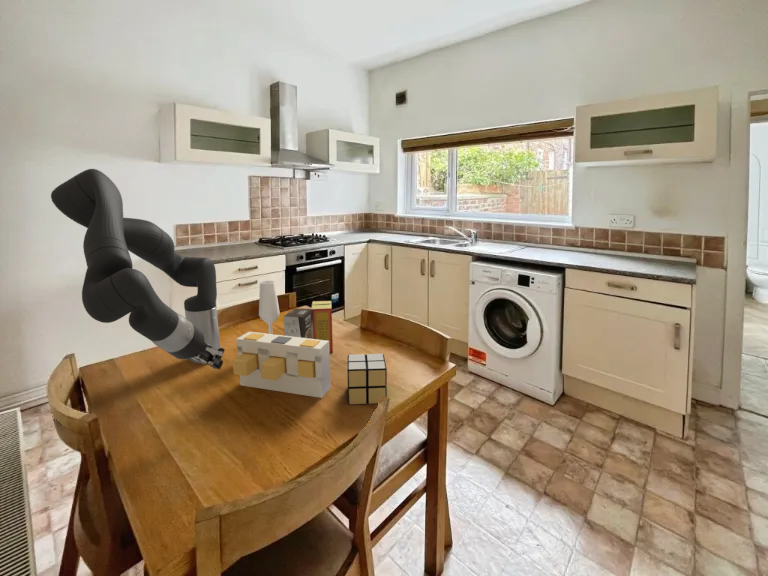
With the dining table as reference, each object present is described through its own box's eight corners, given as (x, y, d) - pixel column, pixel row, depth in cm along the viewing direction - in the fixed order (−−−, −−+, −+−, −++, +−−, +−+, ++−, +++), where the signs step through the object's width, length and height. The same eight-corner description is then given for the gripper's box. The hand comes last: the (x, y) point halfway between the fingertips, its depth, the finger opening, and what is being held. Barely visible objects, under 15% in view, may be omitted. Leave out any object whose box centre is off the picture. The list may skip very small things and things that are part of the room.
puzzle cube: (348, 387, 116) (347, 354, 114) (383, 385, 117) (383, 353, 114) (348, 405, 106) (347, 370, 104) (386, 404, 107) (386, 368, 105)
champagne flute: (257, 353, 139) (252, 283, 133) (267, 345, 145) (263, 279, 139) (276, 354, 137) (271, 285, 131) (285, 347, 144) (281, 280, 138)
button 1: (233, 374, 110) (232, 360, 109) (246, 365, 115) (245, 352, 114) (246, 376, 109) (245, 362, 108) (259, 367, 114) (258, 353, 113)
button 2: (261, 378, 108) (260, 364, 107) (273, 369, 113) (272, 355, 112) (275, 380, 107) (274, 366, 106) (286, 371, 112) (285, 357, 111)
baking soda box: (332, 352, 139) (331, 307, 135) (313, 353, 139) (311, 308, 135) (332, 342, 148) (331, 299, 145) (314, 343, 148) (312, 300, 144)
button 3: (298, 376, 109) (297, 362, 108) (308, 366, 115) (307, 353, 114) (312, 378, 108) (311, 363, 107) (321, 368, 113) (321, 355, 112)
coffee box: (304, 366, 129) (302, 317, 125) (285, 364, 130) (282, 315, 126) (315, 354, 138) (313, 308, 134) (297, 353, 139) (294, 307, 135)
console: (240, 385, 117) (236, 337, 113) (252, 376, 122) (249, 330, 119) (321, 397, 110) (319, 347, 106) (330, 387, 116) (329, 339, 112)
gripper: (141, 347, 86) (189, 376, 100) (194, 355, 82) (236, 383, 97) (158, 315, 90) (202, 347, 104) (210, 322, 86) (248, 354, 101)
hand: (219, 365), depth 100 cm, fingers closed
